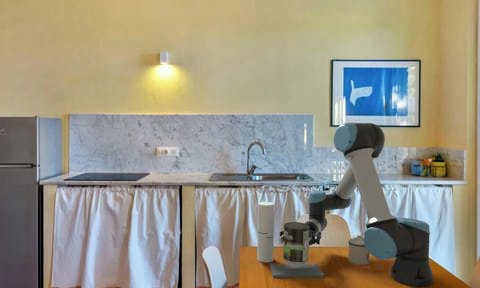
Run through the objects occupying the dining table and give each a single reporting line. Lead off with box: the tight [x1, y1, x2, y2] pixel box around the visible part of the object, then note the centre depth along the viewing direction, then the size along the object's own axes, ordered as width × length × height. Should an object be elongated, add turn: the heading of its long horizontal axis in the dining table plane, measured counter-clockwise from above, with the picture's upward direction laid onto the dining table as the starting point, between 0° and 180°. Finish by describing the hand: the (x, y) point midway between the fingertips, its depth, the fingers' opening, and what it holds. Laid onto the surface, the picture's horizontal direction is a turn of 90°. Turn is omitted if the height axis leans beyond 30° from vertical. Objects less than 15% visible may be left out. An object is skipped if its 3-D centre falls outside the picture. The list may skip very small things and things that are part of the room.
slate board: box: [269, 263, 325, 279], centre depth 150 cm, size 20×12×1 cm, turn 91°
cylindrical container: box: [256, 201, 275, 263], centre depth 164 cm, size 7×7×25 cm
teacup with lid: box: [348, 234, 370, 266], centre depth 163 cm, size 12×9×12 cm
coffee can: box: [282, 221, 310, 264], centre depth 150 cm, size 10×10×14 cm
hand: (292, 243), depth 146 cm, fingers closed on coffee can, 10 cm apart
